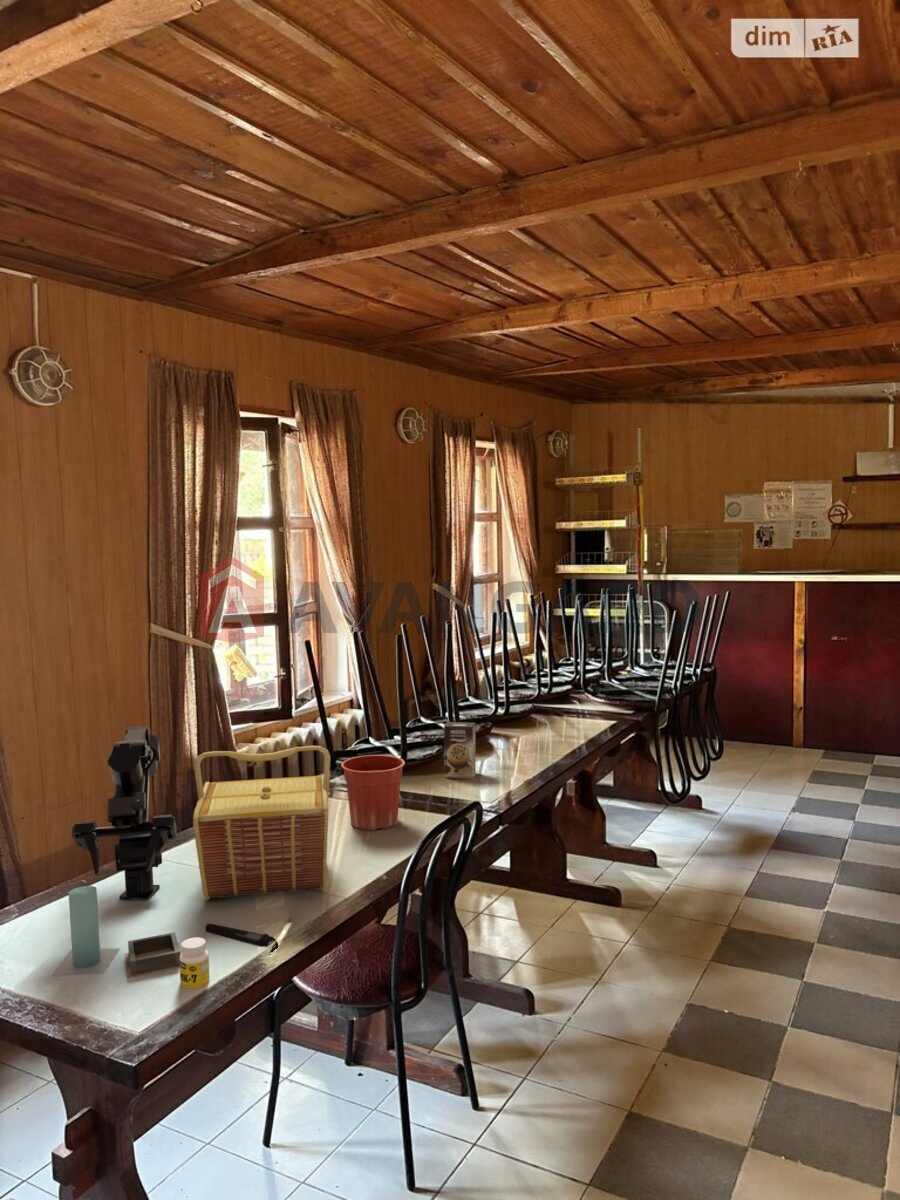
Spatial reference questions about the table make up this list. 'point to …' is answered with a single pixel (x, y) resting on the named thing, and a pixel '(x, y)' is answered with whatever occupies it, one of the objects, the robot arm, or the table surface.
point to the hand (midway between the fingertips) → (122, 872)
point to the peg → (84, 926)
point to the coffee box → (459, 750)
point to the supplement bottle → (194, 963)
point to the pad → (99, 968)
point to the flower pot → (373, 790)
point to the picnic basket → (262, 830)
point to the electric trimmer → (243, 935)
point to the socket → (152, 955)
